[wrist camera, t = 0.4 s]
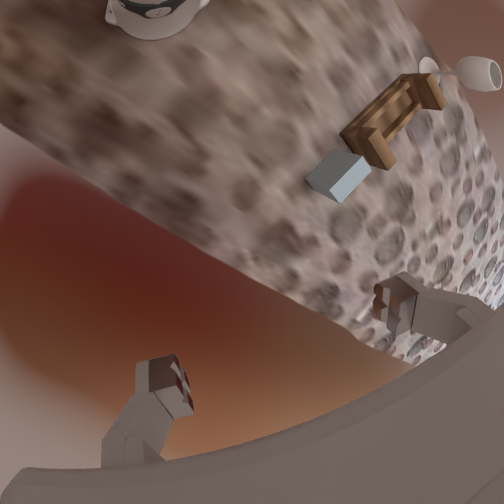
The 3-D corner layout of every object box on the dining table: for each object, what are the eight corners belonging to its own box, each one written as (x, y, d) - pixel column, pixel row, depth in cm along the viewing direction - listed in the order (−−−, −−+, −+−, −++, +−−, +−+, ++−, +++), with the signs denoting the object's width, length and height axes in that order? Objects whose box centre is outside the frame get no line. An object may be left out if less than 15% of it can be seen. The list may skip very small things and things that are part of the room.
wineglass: (429, 51, 51) (494, 50, 33) (443, 79, 55) (507, 84, 37) (413, 65, 52) (482, 64, 34) (429, 94, 56) (496, 101, 38)
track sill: (401, 74, 53) (432, 73, 44) (417, 101, 56) (447, 103, 48) (339, 133, 56) (367, 138, 47) (359, 161, 59) (388, 170, 51)
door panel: (334, 148, 57) (362, 156, 48) (343, 161, 58) (371, 170, 50) (304, 178, 58) (329, 190, 49) (314, 190, 60) (339, 203, 51)
